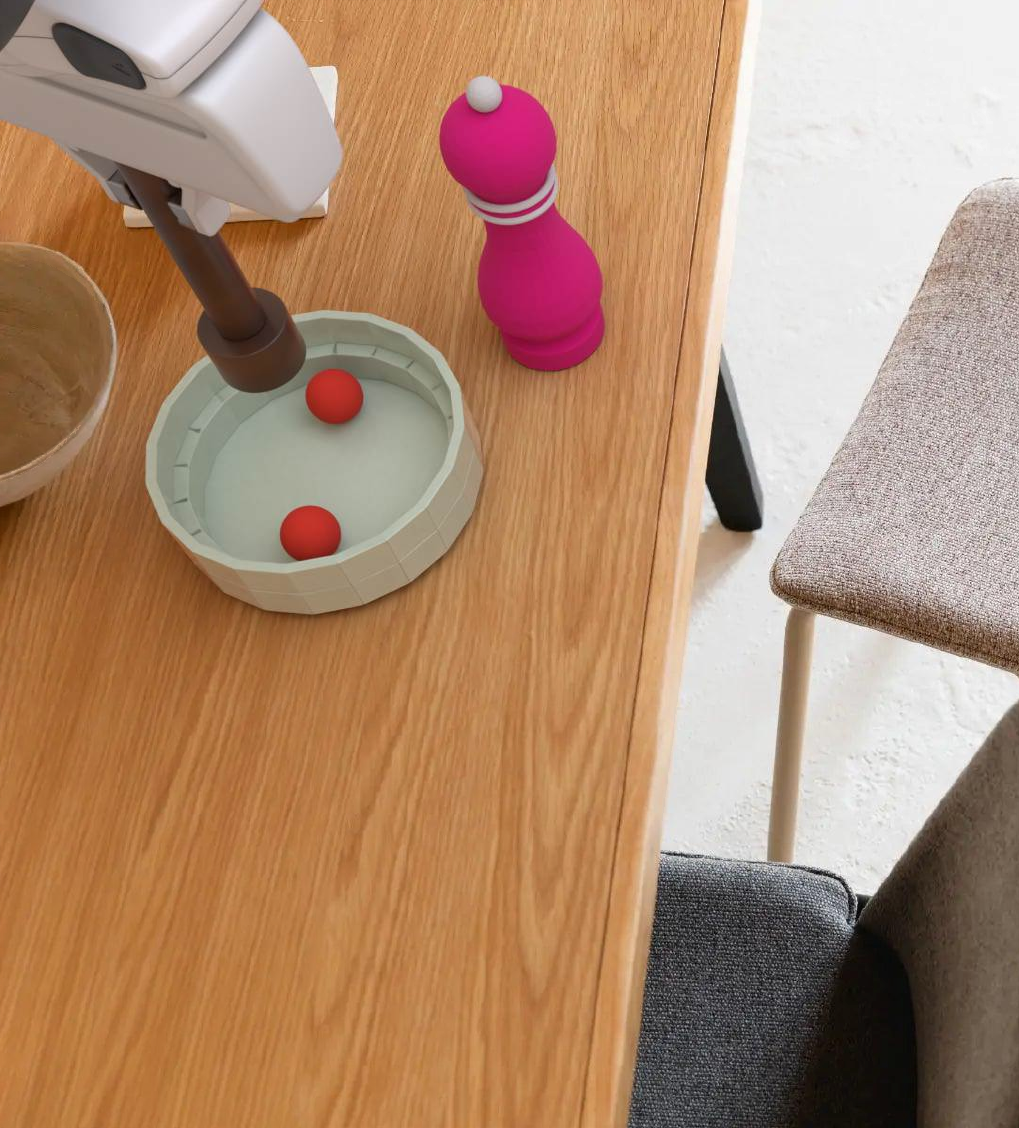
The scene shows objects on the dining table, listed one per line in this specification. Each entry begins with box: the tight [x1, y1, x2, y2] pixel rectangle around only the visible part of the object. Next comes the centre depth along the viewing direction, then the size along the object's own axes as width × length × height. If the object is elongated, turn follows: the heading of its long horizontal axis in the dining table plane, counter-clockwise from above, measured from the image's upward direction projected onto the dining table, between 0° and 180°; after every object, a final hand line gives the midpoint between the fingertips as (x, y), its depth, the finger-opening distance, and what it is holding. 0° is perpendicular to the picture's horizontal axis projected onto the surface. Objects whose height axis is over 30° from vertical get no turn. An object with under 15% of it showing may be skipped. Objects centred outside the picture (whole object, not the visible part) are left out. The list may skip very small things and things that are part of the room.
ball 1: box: [305, 369, 363, 424], centre depth 88 cm, size 3×3×3 cm
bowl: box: [144, 309, 485, 616], centre depth 85 cm, size 17×17×6 cm
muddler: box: [113, 161, 306, 393], centre depth 70 cm, size 4×4×16 cm
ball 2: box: [280, 505, 341, 561], centre depth 83 cm, size 3×3×3 cm
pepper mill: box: [438, 75, 606, 372], centre depth 84 cm, size 7×7×20 cm
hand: (174, 209), depth 67 cm, fingers closed on muddler, 2 cm apart
